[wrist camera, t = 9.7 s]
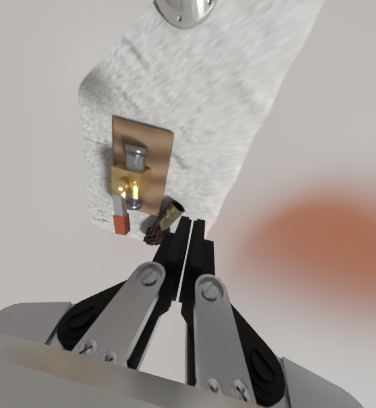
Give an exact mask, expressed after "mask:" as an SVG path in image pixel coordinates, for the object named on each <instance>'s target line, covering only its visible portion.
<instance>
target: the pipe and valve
mask: <svg viewBox="0 0 376 408" xmlns="http://www.w3.org/2000/svg"><path fill="white" fill-rule="evenodd" d="M125 151H127V161H126V163H122V164H118V165H114V166H111V181H113V180H116V179H118V178H121V177H124V178H126V179H127V180H128V181H129V182H130V189H129V190H127V191H125V198H126V209H129V210H138V209H141V208H142V205H143V201H142V196H143V195H144V194H145V193H147V192H148V191H149V187H150V179H151V170H152V169H150V168H147V167H145V160H146V155H148V148H146V147H143V146H139V145H135V144H128V143H126V144H125Z"/></svg>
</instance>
